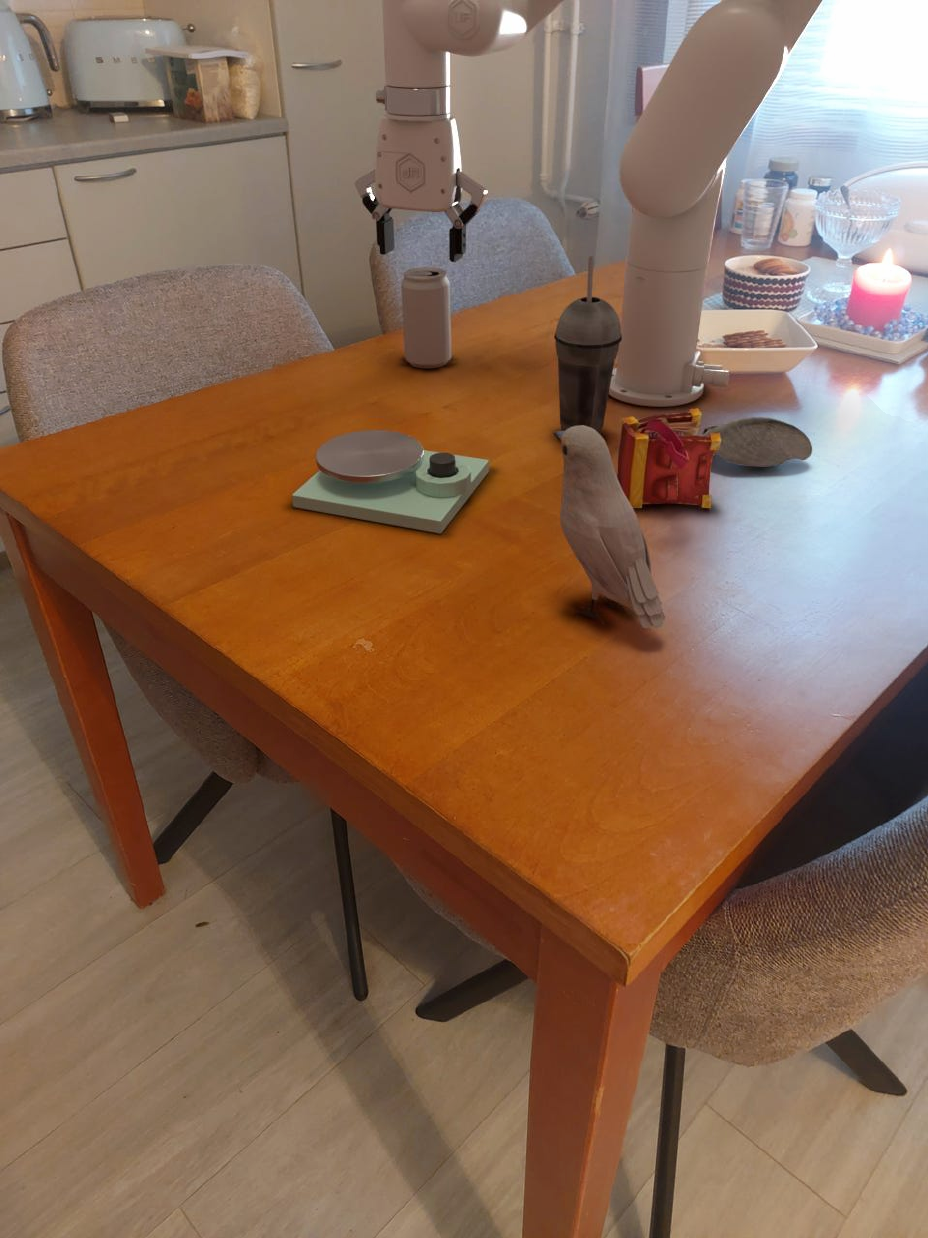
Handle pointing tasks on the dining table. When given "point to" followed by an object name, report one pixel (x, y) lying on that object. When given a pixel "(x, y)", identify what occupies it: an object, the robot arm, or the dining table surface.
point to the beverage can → (426, 317)
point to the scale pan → (369, 456)
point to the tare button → (442, 465)
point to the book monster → (666, 460)
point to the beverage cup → (586, 358)
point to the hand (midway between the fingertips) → (421, 255)
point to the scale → (397, 495)
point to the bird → (605, 529)
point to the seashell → (760, 441)
